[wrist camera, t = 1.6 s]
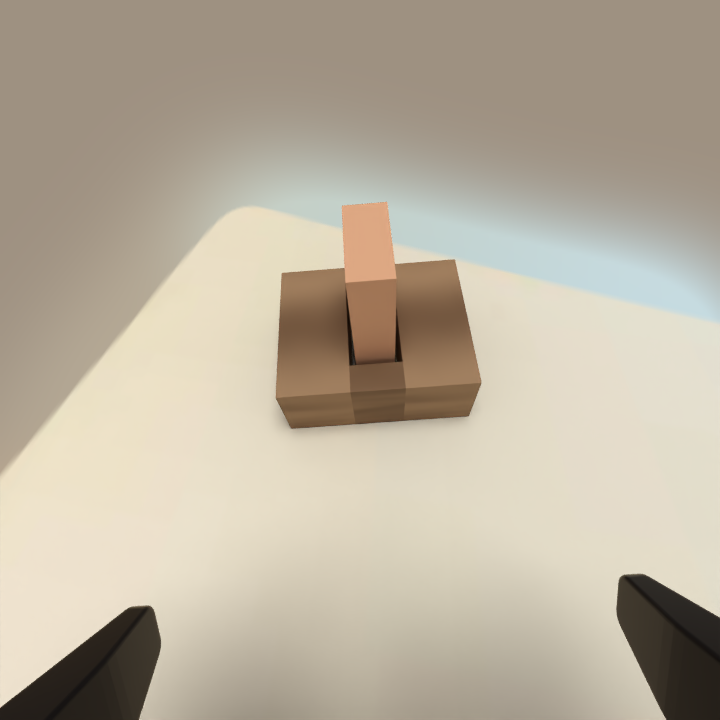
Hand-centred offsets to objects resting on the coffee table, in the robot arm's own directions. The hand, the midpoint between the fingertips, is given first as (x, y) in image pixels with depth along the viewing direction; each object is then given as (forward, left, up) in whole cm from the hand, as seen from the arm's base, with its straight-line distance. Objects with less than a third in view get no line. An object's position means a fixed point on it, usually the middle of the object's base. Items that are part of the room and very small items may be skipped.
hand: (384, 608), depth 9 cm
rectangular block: (+10, -9, -14) cm, 19 cm away
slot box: (+10, -9, -14) cm, 19 cm away
